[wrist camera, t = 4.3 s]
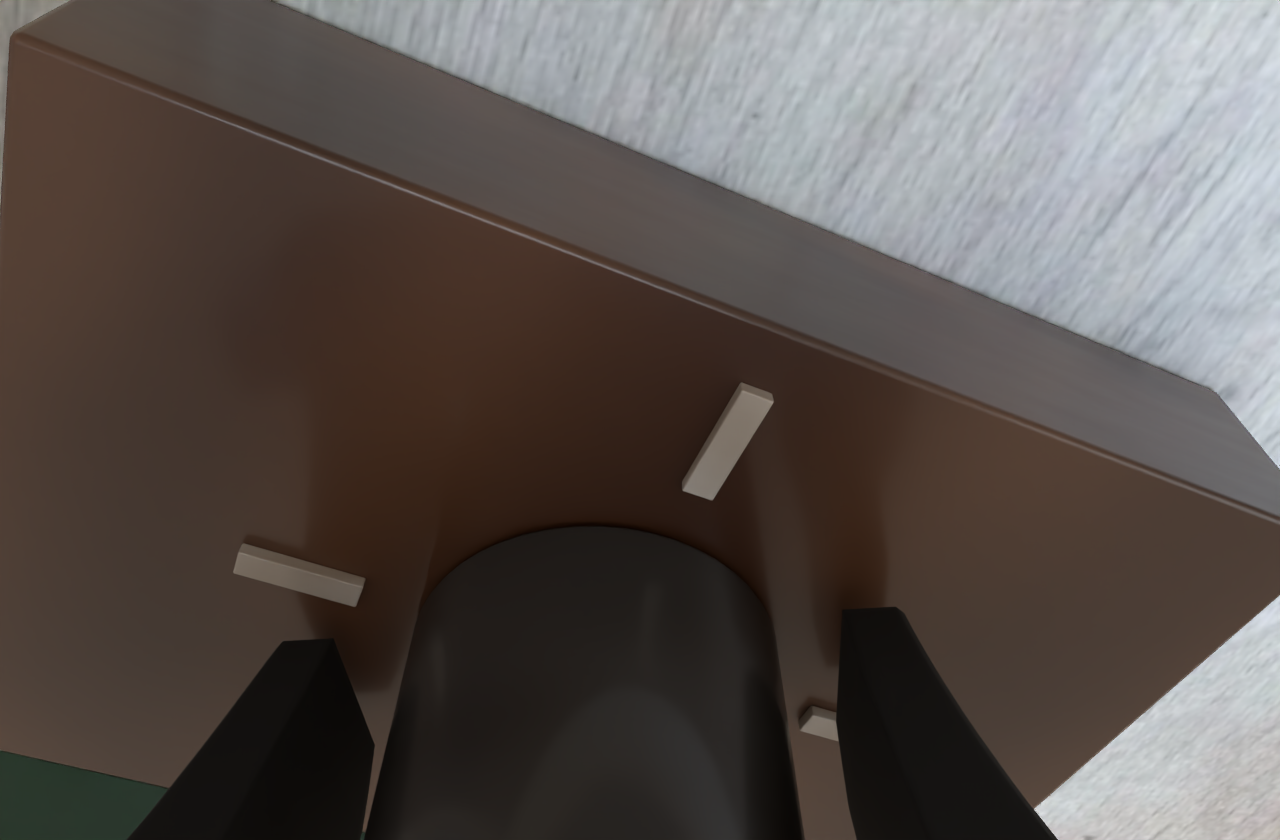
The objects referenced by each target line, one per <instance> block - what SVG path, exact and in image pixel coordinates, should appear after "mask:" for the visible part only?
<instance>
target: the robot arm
mask: <svg viewBox="0 0 1280 840" xmlns="http://www.w3.org/2000/svg"><path fill="white" fill-rule="evenodd" d="M836 726H837V733H838V740H839V746H840V753H841V760H842V767H843V774H844V780H845V787H846V793H847V800H848V806H849V811H850V815H851V819H852V823H853V827H854V831H855V835H856V839H857V840H1058V839H1057V838H1056V837H1055V836H1054V834H1053V833H1052V832H1051V831H1050V829H1049V828H1048V827H1047V826H1046V824H1045V823H1044V822H1043V821H1042V819H1041V818H1040V817H1039V815H1038V814H1037V813H1036V812H1035V810H1034V809H1033V808H1032V807H1031V805H1030V804H1029V803H1028V801H1027V800H1026V799H1025V797H1024V796H1023V795H1022V793H1021V792H1020V791H1019V789H1018V788H1017V787H1016V785H1015V784H1014V783H1013V781H1012V780H1011V779H1010V777H1009V776H1008V774H1007V773H1006V772H1005V770H1004V769H1003V767H1002V766H1001V765H1000V763H999V762H998V760H997V759H996V758H995V756H994V755H993V754H992V752H991V751H990V749H989V748H988V747H987V745H986V744H985V742H984V741H983V740H982V738H981V737H980V735H979V734H978V733H977V731H976V730H975V728H974V727H973V725H972V724H971V722H970V721H969V719H968V718H967V716H966V715H965V713H964V712H963V710H962V709H961V707H960V706H959V704H958V703H957V701H956V700H955V698H954V696H953V695H952V693H951V692H950V690H949V689H948V687H947V686H946V684H945V682H944V681H943V679H942V678H941V676H940V675H939V673H938V671H937V670H936V668H935V666H934V665H933V663H932V661H931V660H930V658H929V656H928V655H927V653H926V651H925V650H924V648H923V646H922V644H921V643H920V641H919V639H918V637H917V636H916V634H915V632H914V630H913V628H912V627H911V625H910V623H909V621H908V619H907V617H906V615H905V613H904V612H902V611H901V610H900V609H898V608H897V607H879V608H862V609H844V610H842V622H841V640H840V658H839V676H838V693H837V711H836ZM374 749H375V744H374V741H373V739H372V736H371V734H370V731H369V729H368V726H367V723H366V721H365V718H364V716H363V713H362V710H361V708H360V705H359V703H358V700H357V698H356V695H355V692H354V690H353V687H352V685H351V682H350V680H349V677H348V674H347V672H346V669H345V667H344V664H343V661H342V659H341V656H340V654H339V651H338V649H337V646H336V643H335V641H334V638H329V639H311V640H293V641H283V642H282V643H281V644H280V645H279V646H278V647H277V648H276V649H275V651H274V652H273V653H272V655H271V656H270V657H269V659H268V660H267V661H266V663H265V664H264V665H263V667H262V668H261V669H260V670H259V672H258V673H257V674H256V676H255V677H254V678H253V680H252V681H251V683H250V684H249V685H248V687H247V688H246V689H245V691H244V692H243V693H242V695H241V696H240V697H239V699H238V700H237V701H236V703H235V704H234V705H233V706H232V708H231V709H230V710H229V712H228V713H227V714H226V716H225V717H224V718H223V720H222V721H221V722H220V724H219V725H218V726H217V728H216V729H215V730H214V731H213V733H212V734H211V735H210V737H209V738H208V739H207V741H206V742H205V743H204V745H203V746H202V747H201V748H200V750H199V751H198V752H197V754H196V755H195V756H194V757H193V759H192V760H191V761H190V762H189V764H188V765H187V766H186V767H185V769H184V770H183V771H182V772H181V774H180V775H179V776H178V777H177V779H176V780H175V781H174V782H173V784H172V785H171V786H170V787H169V789H168V790H167V791H166V793H165V794H164V795H163V796H162V798H161V799H160V800H159V801H158V803H157V804H156V805H155V806H154V808H153V809H152V810H151V811H150V812H149V814H148V815H147V816H146V817H145V818H144V820H143V821H142V822H141V823H140V824H139V826H138V827H137V828H136V829H135V830H134V831H133V833H132V834H131V835H130V836H129V837H128V838H127V839H126V840H360V838H361V834H362V830H363V824H364V818H365V812H366V805H367V799H368V793H369V786H370V778H371V771H372V763H373V756H374Z"/></svg>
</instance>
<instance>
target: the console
mask: <svg viewBox="0 0 1280 840" xmlns="http://www.w3.org/2000/svg"><path fill="white" fill-rule="evenodd" d="M571 526H608V527H620V528H628V529H634V530H639V531H645V532H650V533H654V534H657V535H661V536H664V537H668V538H671V539H675V540H677V541H680V542H682V543H684V544H687V545H689V546H692V547H694V548H697V549H698V550H700V551H702V552H704V553H706V554H708V555H709V556H711V557H713V558H715V559H717V560H718V561H719V562H721V563H722V564H724V565H725V566H726V567H728V568H729V569H730V570H732V571H733V572H734V573H735V574H737V575H738V576H739V577H740V578H741V579H742V580H743V581H744V582H745V583H746V584H747V585H748V586H749V587H750V589H751V590H752V591H753V592H754V594H755V595H756V596H757V598H758V599H759V600H760V602H761V603H762V604H763V606H764V608H765V610H766V612H767V614H768V616H769V618H770V620H771V623H772V626H773V629H774V633H775V636H776V642H777V649H778V656H779V663H780V670H781V677H782V684H783V691H784V698H785V705H786V712H787V719H788V725H789V732H790V739H791V746H792V753H793V760H794V767H795V774H796V781H797V788H798V795H799V802H800V809H801V816H802V822H803V829H804V836H805V840H857V839H856V835H855V831H854V827H853V823H852V819H851V815H850V811H849V806H848V800H847V793H846V787H845V780H844V774H843V767H842V760H841V753H840V746H839V740H838V733H837V726H836V711H837V693H838V676H839V658H840V640H841V622H842V610H844V609H862V608H879V607H897V608H898V609H900V610H901V611H902V612H904V613H905V615H906V617H907V619H908V621H909V623H910V625H911V627H912V628H913V630H914V632H915V634H916V636H917V637H918V639H919V641H920V643H921V644H922V646H923V648H924V650H925V651H926V653H927V655H928V656H929V658H930V660H931V661H932V663H933V665H934V666H935V668H936V670H937V671H938V673H939V675H940V676H941V678H942V679H943V681H944V682H945V684H946V686H947V687H948V689H949V690H950V692H951V693H952V695H953V696H954V698H955V700H956V701H957V703H958V704H959V706H960V707H961V709H962V710H963V712H964V713H965V715H966V716H967V718H968V719H969V721H970V722H971V724H972V725H973V727H974V728H975V730H976V731H977V733H978V734H979V735H980V737H981V738H982V740H983V741H984V742H985V744H986V745H987V747H988V748H989V749H990V751H991V752H992V754H993V755H994V756H995V758H996V759H997V760H998V762H999V763H1000V765H1001V766H1002V767H1003V769H1004V770H1005V772H1006V773H1007V774H1008V776H1009V777H1010V779H1011V780H1012V781H1013V783H1014V784H1015V785H1016V787H1017V788H1018V789H1019V791H1020V792H1021V793H1022V795H1023V796H1024V797H1025V799H1026V800H1027V801H1028V803H1029V804H1030V805H1031V807H1032V808H1033V809H1034V808H1035V807H1037V806H1038V805H1039V804H1040V803H1041V802H1042V801H1043V800H1045V799H1046V798H1047V797H1048V796H1049V795H1050V794H1051V793H1053V792H1054V791H1055V790H1056V789H1057V788H1058V787H1060V786H1061V785H1062V784H1063V783H1064V782H1065V781H1066V780H1068V779H1069V778H1070V777H1071V776H1072V775H1073V774H1075V773H1076V772H1077V771H1078V770H1079V769H1080V768H1081V767H1083V766H1084V765H1085V764H1086V763H1087V762H1088V761H1089V760H1091V759H1092V758H1093V757H1094V756H1095V755H1096V754H1098V753H1099V752H1100V751H1101V750H1102V749H1103V748H1104V747H1106V746H1107V745H1108V744H1109V743H1110V742H1111V741H1112V740H1114V739H1115V738H1116V737H1117V736H1118V735H1119V734H1121V733H1122V732H1123V731H1124V730H1125V729H1126V728H1127V727H1129V726H1130V725H1131V724H1132V723H1133V722H1134V721H1135V720H1137V719H1138V718H1139V717H1140V716H1141V715H1142V714H1144V713H1145V712H1146V711H1147V710H1148V709H1149V708H1150V707H1152V706H1153V705H1154V704H1155V703H1156V702H1157V701H1159V700H1160V699H1161V698H1162V697H1163V696H1164V695H1165V694H1167V693H1168V692H1169V691H1170V690H1171V689H1172V688H1173V687H1175V686H1176V685H1177V684H1178V683H1179V682H1180V681H1182V680H1183V679H1184V678H1185V677H1186V676H1187V675H1188V674H1190V673H1191V672H1192V671H1193V670H1194V669H1195V668H1196V667H1198V666H1199V665H1200V664H1201V663H1202V662H1203V661H1205V660H1206V659H1207V658H1208V657H1209V656H1210V655H1211V654H1213V653H1214V652H1215V651H1216V650H1217V649H1218V648H1219V647H1221V646H1222V645H1223V644H1224V643H1225V642H1226V641H1228V640H1229V639H1230V638H1231V637H1232V636H1233V635H1234V634H1236V633H1237V632H1238V631H1239V630H1240V629H1241V628H1242V627H1244V626H1245V625H1246V624H1247V623H1248V622H1249V621H1251V620H1252V619H1253V618H1254V617H1255V616H1256V615H1257V614H1259V613H1260V612H1261V611H1262V610H1263V609H1264V608H1266V607H1267V606H1268V605H1269V604H1270V603H1271V602H1272V601H1274V600H1275V599H1276V598H1277V597H1278V596H1279V595H1280V469H1279V468H1278V467H1277V466H1276V465H1275V463H1274V462H1273V461H1272V460H1271V458H1270V457H1269V456H1268V455H1267V454H1266V452H1265V451H1264V450H1263V449H1262V447H1261V446H1260V445H1259V444H1258V443H1257V441H1256V440H1255V439H1254V438H1253V437H1252V435H1251V434H1250V433H1249V432H1248V430H1247V429H1246V428H1245V427H1244V426H1243V424H1242V423H1241V422H1240V421H1239V419H1238V418H1237V417H1236V416H1235V415H1234V413H1233V412H1232V411H1231V410H1230V408H1229V407H1228V406H1227V405H1226V404H1225V402H1224V401H1223V400H1222V399H1221V398H1220V396H1219V395H1218V394H1217V393H1216V392H1214V391H1211V390H1209V389H1206V388H1204V387H1202V386H1199V385H1197V384H1194V383H1192V382H1190V381H1187V380H1185V379H1182V378H1180V377H1177V376H1175V375H1173V374H1170V373H1168V372H1165V371H1163V370H1161V369H1158V368H1156V367H1153V366H1151V365H1149V364H1146V363H1144V362H1141V361H1139V360H1136V359H1134V358H1132V357H1129V356H1127V355H1124V354H1122V353H1120V352H1117V351H1115V350H1112V349H1110V348H1107V347H1105V346H1103V345H1100V344H1098V343H1095V342H1093V341H1091V340H1088V339H1086V338H1083V337H1081V336H1078V335H1076V334H1074V333H1071V332H1069V331H1066V330H1064V329H1062V328H1059V327H1057V326H1054V325H1052V324H1049V323H1047V322H1045V321H1042V320H1040V319H1037V318H1035V317H1033V316H1030V315H1028V314H1025V313H1023V312H1021V311H1018V310H1016V309H1013V308H1011V307H1008V306H1006V305H1004V304H1001V303H999V302H996V301H994V300H992V299H989V298H987V297H984V296H982V295H979V294H977V293H975V292H972V291H970V290H967V289H965V288H963V287H960V286H958V285H955V284H953V283H950V282H948V281H946V280H943V279H941V278H938V277H936V276H934V275H931V274H929V273H926V272H924V271H922V270H919V269H917V268H914V267H912V266H909V265H907V264H905V263H902V262H900V261H897V260H895V259H893V258H890V257H888V256H885V255H883V254H880V253H878V252H876V251H873V250H871V249H868V248H866V247H864V246H861V245H859V244H856V243H854V242H851V241H849V240H847V239H844V238H842V237H839V236H837V235H835V234H832V233H830V232H827V231H825V230H823V229H820V228H818V227H815V226H813V225H810V224H808V223H806V222H803V221H801V220H798V219H796V218H794V217H791V216H789V215H786V214H784V213H781V212H779V211H777V210H774V209H772V208H769V207H767V206H765V205H762V204H760V203H757V202H755V201H752V200H750V199H748V198H745V197H743V196H740V195H738V194H736V193H733V192H731V191H728V190H726V189H724V188H721V187H719V186H716V185H714V184H711V183H709V182H707V181H704V180H702V179H699V178H697V177H695V176H692V175H690V174H687V173H685V172H682V171H680V170H678V169H675V168H673V167H670V166H668V165H666V164H663V163H661V162H658V161H656V160H653V159H651V158H649V157H646V156H644V155H641V154H639V153H637V152H634V151H632V150H629V149H627V148H625V147H622V146H620V145H617V144H615V143H612V142H610V141H608V140H605V139H603V138H600V137H598V136H596V135H593V134H591V133H588V132H586V131H583V130H581V129H579V128H576V127H574V126H571V125H569V124H567V123H564V122H562V121H559V120H557V119H554V118H552V117H550V116H547V115H545V114H542V113H540V112H538V111H535V110H533V109H530V108H528V107H526V106H523V105H521V104H518V103H516V102H513V101H511V100H509V99H506V98H504V97H501V96H499V95H497V94H494V93H492V92H489V91H487V90H484V89H482V88H480V87H477V86H475V85H472V84H470V83H468V82H465V81H463V80H460V79H458V78H455V77H453V76H451V75H448V74H446V73H443V72H441V71H439V70H436V69H434V68H431V67H429V66H426V65H424V64H422V63H419V62H417V61H414V60H412V59H410V58H407V57H405V56H402V55H400V54H398V53H395V52H393V51H390V50H388V49H385V48H383V47H381V46H378V45H376V44H373V43H371V42H369V41H366V40H364V39H361V38H359V37H356V36H354V35H352V34H349V33H347V32H344V31H342V30H340V29H337V28H335V27H332V26H330V25H327V24H325V23H323V22H320V21H318V20H315V19H313V18H311V17H308V16H306V15H303V14H301V13H299V12H296V11H294V10H291V9H289V8H286V7H284V6H282V5H279V4H277V3H274V2H272V1H270V0H70V1H68V2H67V3H65V4H63V5H61V6H59V7H57V8H56V9H54V10H52V11H50V12H48V13H46V14H45V15H43V16H41V17H39V18H37V19H36V20H34V21H32V22H30V23H28V24H26V25H25V26H23V27H21V28H19V29H17V30H15V31H14V32H13V34H12V35H11V37H10V43H9V62H8V80H7V98H6V117H5V135H4V153H3V171H2V190H1V208H0V750H1V751H6V752H10V753H15V754H19V755H24V756H28V757H33V758H37V759H42V760H46V761H50V762H55V763H59V764H64V765H68V766H73V767H77V768H82V769H86V770H90V771H95V772H99V773H104V774H108V775H113V776H117V777H122V778H126V779H130V780H135V781H139V782H144V783H148V784H153V785H157V786H162V787H166V788H169V787H170V786H171V785H172V784H173V782H174V781H175V780H176V779H177V777H178V776H179V775H180V774H181V772H182V771H183V770H184V769H185V767H186V766H187V765H188V764H189V762H190V761H191V760H192V759H193V757H194V756H195V755H196V754H197V752H198V751H199V750H200V748H201V747H202V746H203V745H204V743H205V742H206V741H207V739H208V738H209V737H210V735H211V734H212V733H213V731H214V730H215V729H216V728H217V726H218V725H219V724H220V722H221V721H222V720H223V718H224V717H225V716H226V714H227V713H228V712H229V710H230V709H231V708H232V706H233V705H234V704H235V703H236V701H237V700H238V699H239V697H240V696H241V695H242V693H243V692H244V691H245V689H246V688H247V687H248V685H249V684H250V683H251V681H252V680H253V678H254V677H255V676H256V674H257V673H258V672H259V670H260V669H261V668H262V667H263V665H264V664H265V663H266V661H267V660H268V659H269V657H270V656H271V655H272V653H273V652H274V651H275V649H276V648H277V647H278V646H279V645H280V644H281V643H282V642H283V641H293V640H311V639H329V638H334V641H335V643H336V646H337V649H338V651H339V654H340V656H341V659H342V661H343V664H344V667H345V669H346V672H347V674H348V677H349V680H350V682H351V685H352V687H353V690H354V692H355V695H356V698H357V700H358V703H359V705H360V708H361V710H362V713H363V716H364V718H365V721H366V723H367V726H368V729H369V731H370V734H371V736H372V739H373V741H374V744H375V749H374V756H373V763H372V771H371V778H370V786H369V793H368V799H367V805H366V812H365V818H364V824H363V830H362V832H366V828H367V824H368V820H369V816H370V811H371V807H372V803H373V799H374V795H375V790H376V786H377V782H378V778H379V774H380V769H381V765H382V761H383V757H384V753H385V749H386V744H387V740H388V736H389V732H390V728H391V723H392V719H393V715H394V711H395V707H396V703H397V698H398V694H399V690H400V686H401V682H402V677H403V673H404V669H405V665H406V661H407V657H408V652H409V648H410V644H411V640H412V636H413V631H414V627H415V624H416V621H417V618H418V616H419V613H420V610H421V608H422V607H423V605H424V603H425V602H426V600H427V598H428V597H429V595H430V593H431V592H432V591H433V590H434V589H435V588H436V587H437V585H438V584H439V583H440V582H441V581H442V580H443V579H444V578H445V577H446V576H447V575H448V574H449V573H450V572H451V571H453V570H454V569H455V568H456V567H457V566H459V565H460V564H461V563H462V562H464V561H466V560H467V559H469V558H470V557H472V556H474V555H475V554H477V553H478V552H480V551H482V550H484V549H487V548H489V547H491V546H493V545H495V544H497V543H499V542H502V541H505V540H508V539H511V538H514V537H517V536H520V535H523V534H528V533H532V532H537V531H541V530H546V529H553V528H562V527H571Z"/></svg>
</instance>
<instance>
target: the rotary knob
mask: <svg viewBox="0 0 1280 840" xmlns="http://www.w3.org/2000/svg"><path fill="white" fill-rule="evenodd" d="M364 840H805V836H804V829H803V822H802V816H801V809H800V802H799V795H798V788H797V781H796V774H795V767H794V760H793V753H792V746H791V739H790V732H789V725H788V719H787V712H786V705H785V698H784V691H783V684H782V677H781V670H780V663H779V656H778V649H777V642H776V636H775V633H774V629H773V626H772V623H771V620H770V618H769V616H768V614H767V612H766V610H765V608H764V606H763V604H762V603H761V602H760V600H759V599H758V598H757V596H756V595H755V594H754V592H753V591H752V590H751V589H750V587H749V586H748V585H747V584H746V583H745V582H744V581H743V580H742V579H741V578H740V577H739V576H738V575H737V574H735V573H734V572H733V571H732V570H730V569H729V568H728V567H726V566H725V565H724V564H722V563H721V562H719V561H718V560H717V559H715V558H713V557H711V556H709V555H708V554H706V553H704V552H702V551H700V550H698V549H697V548H694V547H692V546H689V545H687V544H684V543H682V542H680V541H677V540H675V539H671V538H668V537H664V536H661V535H657V534H654V533H650V532H645V531H639V530H634V529H628V528H620V527H608V526H571V527H562V528H553V529H546V530H541V531H537V532H532V533H528V534H523V535H520V536H517V537H514V538H511V539H508V540H505V541H502V542H499V543H497V544H495V545H493V546H491V547H489V548H487V549H484V550H482V551H480V552H478V553H477V554H475V555H474V556H472V557H470V558H469V559H467V560H466V561H464V562H462V563H461V564H460V565H459V566H457V567H456V568H455V569H454V570H453V571H451V572H450V573H449V574H448V575H447V576H446V577H445V578H444V579H443V580H442V581H441V582H440V583H439V584H438V585H437V587H436V588H435V589H434V590H433V591H432V592H431V593H430V595H429V597H428V598H427V600H426V602H425V603H424V605H423V607H422V608H421V610H420V613H419V616H418V618H417V621H416V624H415V627H414V631H413V636H412V640H411V644H410V648H409V652H408V657H407V661H406V665H405V669H404V673H403V677H402V682H401V686H400V690H399V694H398V698H397V703H396V707H395V711H394V715H393V719H392V723H391V728H390V732H389V736H388V740H387V744H386V749H385V753H384V757H383V761H382V765H381V769H380V774H379V778H378V782H377V786H376V790H375V795H374V799H373V803H372V807H371V811H370V816H369V820H368V824H367V828H366V832H365V836H364Z"/></svg>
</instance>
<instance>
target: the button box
mask: <svg viewBox="0 0 1280 840" xmlns="http://www.w3.org/2000/svg"><path fill="white" fill-rule="evenodd" d="M168 789H169V788H164V787H160V786H155V785H151V784H146V783H142V782H138V781H133V780H129V779H124V778H120V777H115V776H111V775H106V774H102V773H98V772H93V771H89V770H84V769H80V768H75V767H71V766H66V765H62V764H58V763H53V762H49V761H44V760H40V759H35V758H31V757H26V756H22V755H18V754H13V753H9V752H4V751H0V840H126V839H127V838H128V837H129V836H130V835H131V834H132V833H133V831H134V830H135V829H136V828H137V827H138V826H139V824H140V823H141V822H142V821H143V820H144V818H145V817H146V816H147V815H148V814H149V812H150V811H151V810H152V809H153V808H154V806H155V805H156V804H157V803H158V801H159V800H160V799H161V798H162V796H163V795H164V794H165V793H166V791H167V790H168ZM364 836H365V833H364V832H362V834H361V838H360V840H364Z"/></svg>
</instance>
